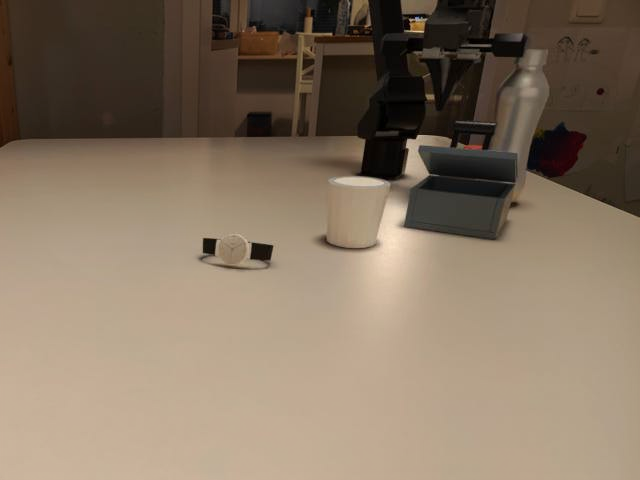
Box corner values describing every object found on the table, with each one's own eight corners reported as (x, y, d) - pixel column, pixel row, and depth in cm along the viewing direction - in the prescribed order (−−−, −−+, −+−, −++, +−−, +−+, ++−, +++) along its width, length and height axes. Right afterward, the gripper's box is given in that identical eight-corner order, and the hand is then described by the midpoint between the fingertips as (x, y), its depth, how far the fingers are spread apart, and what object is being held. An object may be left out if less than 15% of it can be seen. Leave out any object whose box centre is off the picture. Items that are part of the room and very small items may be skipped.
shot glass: (384, 236, 75) (394, 177, 71) (376, 252, 69) (387, 189, 66) (327, 230, 77) (334, 173, 74) (315, 245, 72) (322, 184, 68)
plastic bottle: (508, 197, 92) (546, 48, 83) (527, 208, 87) (571, 49, 77) (464, 196, 93) (497, 49, 84) (480, 207, 87) (517, 49, 78)
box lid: (515, 159, 69) (527, 118, 69) (417, 151, 74) (427, 113, 74) (515, 183, 79) (526, 147, 78) (429, 174, 84) (438, 141, 83)
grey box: (494, 239, 73) (505, 199, 71) (403, 226, 79) (410, 188, 76) (506, 220, 81) (515, 183, 79) (422, 209, 86) (429, 174, 84)
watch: (195, 263, 66) (196, 230, 64) (209, 251, 70) (210, 219, 68) (266, 272, 63) (269, 238, 62) (276, 258, 67) (279, 226, 66)
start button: (482, 160, 103) (485, 149, 102) (459, 158, 105) (462, 147, 104) (486, 156, 106) (488, 146, 105) (463, 155, 108) (466, 144, 107)
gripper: (376, -14, 82) (358, 112, 89) (534, -20, 72) (500, 121, 80) (400, -10, 90) (382, 105, 97) (545, -15, 80) (513, 113, 88)
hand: (439, 111), depth 90 cm, fingers closed
